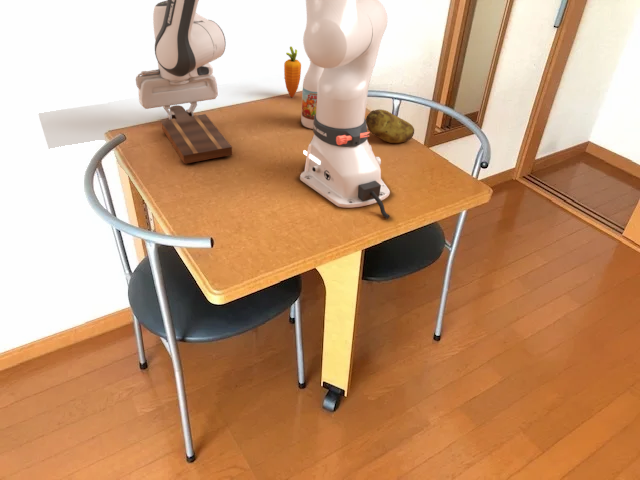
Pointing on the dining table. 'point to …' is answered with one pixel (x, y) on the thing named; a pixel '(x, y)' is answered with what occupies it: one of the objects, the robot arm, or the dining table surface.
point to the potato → (389, 126)
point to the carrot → (292, 73)
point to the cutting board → (194, 136)
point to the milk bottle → (310, 94)
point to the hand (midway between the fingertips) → (181, 118)
